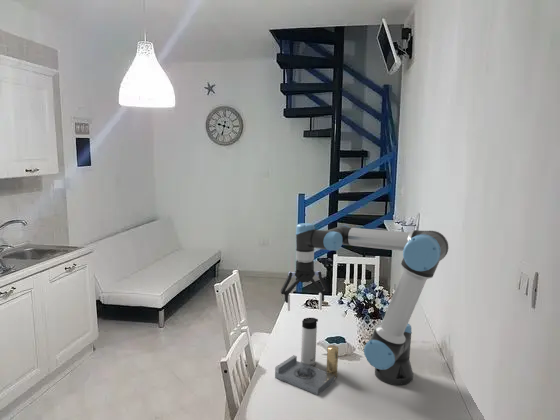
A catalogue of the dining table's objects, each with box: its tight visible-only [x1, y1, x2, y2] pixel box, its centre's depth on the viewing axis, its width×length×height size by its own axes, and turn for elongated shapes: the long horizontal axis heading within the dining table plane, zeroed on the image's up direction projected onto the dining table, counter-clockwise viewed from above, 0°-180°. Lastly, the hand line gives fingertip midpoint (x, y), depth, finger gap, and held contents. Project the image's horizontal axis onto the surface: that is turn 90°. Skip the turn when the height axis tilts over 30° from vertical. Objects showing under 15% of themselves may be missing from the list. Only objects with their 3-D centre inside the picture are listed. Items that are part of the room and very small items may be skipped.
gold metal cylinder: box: [325, 344, 339, 379], centre depth 174 cm, size 4×4×12 cm
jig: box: [274, 354, 336, 396], centre depth 171 cm, size 20×13×4 cm, turn 54°
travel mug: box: [300, 317, 319, 367], centre depth 184 cm, size 6×7×20 cm
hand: (304, 309), depth 182 cm, fingers open, 13 cm apart
